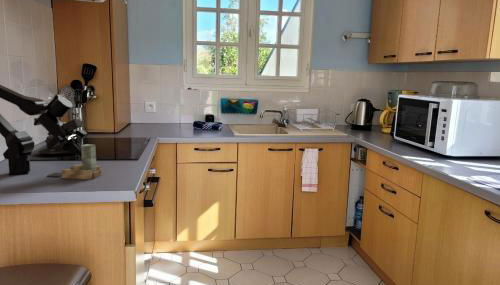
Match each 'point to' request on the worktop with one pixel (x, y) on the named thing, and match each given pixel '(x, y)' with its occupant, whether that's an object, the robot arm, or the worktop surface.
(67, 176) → the tunnel
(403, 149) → the worktop surface
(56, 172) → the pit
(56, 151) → the casserole
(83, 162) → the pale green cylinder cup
